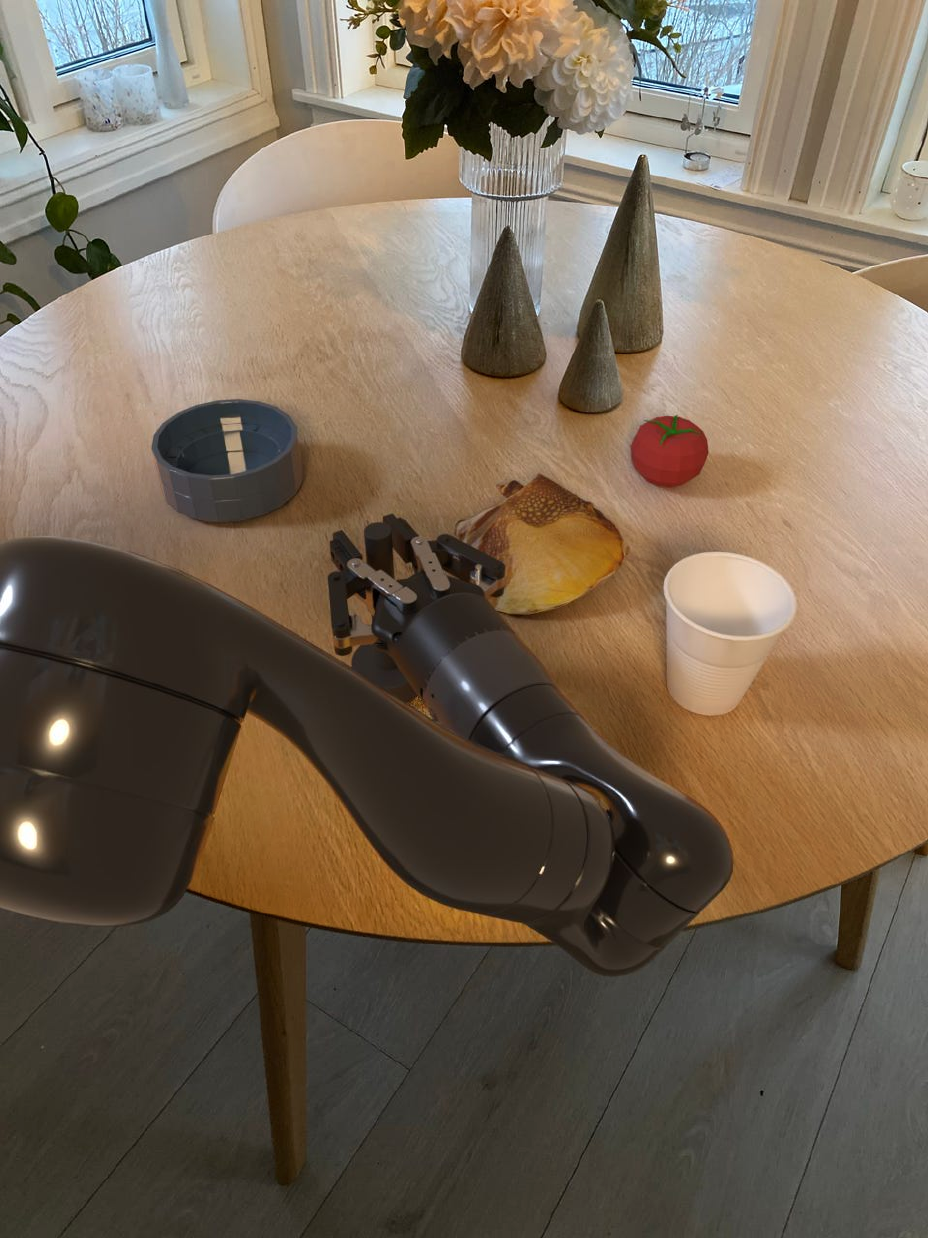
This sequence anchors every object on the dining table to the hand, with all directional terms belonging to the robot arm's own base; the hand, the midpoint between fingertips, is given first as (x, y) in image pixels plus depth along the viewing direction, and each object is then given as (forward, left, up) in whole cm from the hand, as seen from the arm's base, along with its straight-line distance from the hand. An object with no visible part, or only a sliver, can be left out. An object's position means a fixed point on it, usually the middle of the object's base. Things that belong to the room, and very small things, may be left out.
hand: (362, 532), depth 72 cm
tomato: (+24, +32, -14) cm, 42 cm away
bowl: (-20, +22, -14) cm, 33 cm away
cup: (+28, +2, -14) cm, 31 cm away
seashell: (+12, +16, -14) cm, 24 cm away
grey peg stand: (+2, -2, -14) cm, 14 cm away
